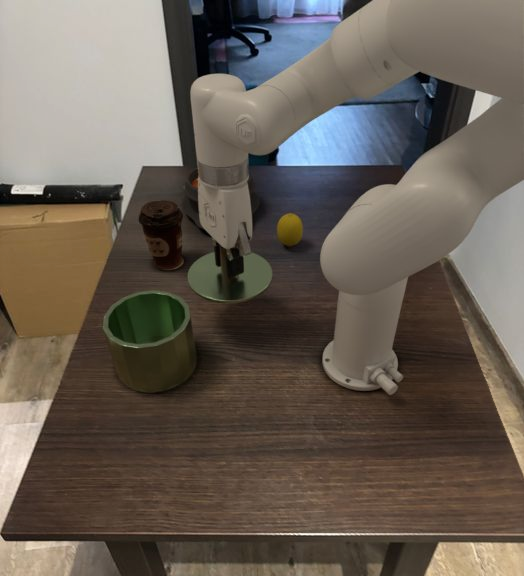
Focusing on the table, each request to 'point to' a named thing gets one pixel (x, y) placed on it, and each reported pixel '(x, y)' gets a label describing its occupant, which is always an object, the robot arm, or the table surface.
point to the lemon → (289, 229)
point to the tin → (151, 340)
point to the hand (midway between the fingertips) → (229, 268)
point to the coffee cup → (163, 233)
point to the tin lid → (222, 289)
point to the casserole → (191, 197)
